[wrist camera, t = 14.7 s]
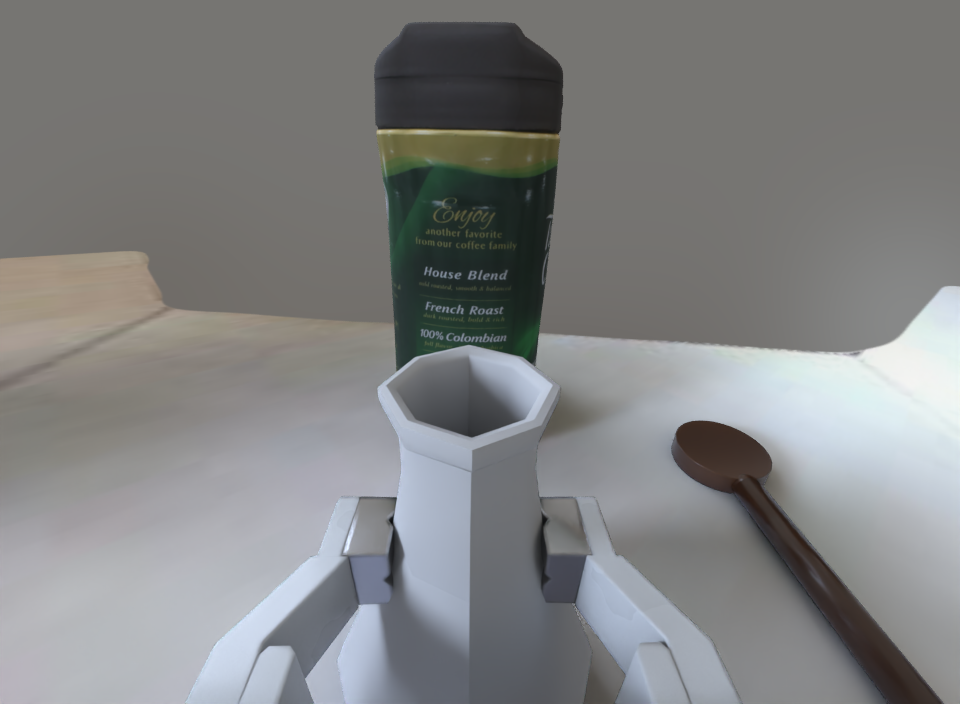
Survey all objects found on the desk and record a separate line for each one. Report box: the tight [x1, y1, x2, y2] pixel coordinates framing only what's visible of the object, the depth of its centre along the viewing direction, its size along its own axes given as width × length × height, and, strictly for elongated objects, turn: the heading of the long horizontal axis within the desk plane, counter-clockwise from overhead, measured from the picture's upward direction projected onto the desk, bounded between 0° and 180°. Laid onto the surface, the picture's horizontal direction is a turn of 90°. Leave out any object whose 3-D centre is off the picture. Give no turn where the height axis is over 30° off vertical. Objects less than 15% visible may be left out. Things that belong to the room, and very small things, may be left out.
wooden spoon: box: [671, 421, 944, 704], centre depth 16 cm, size 14×4×1 cm, turn 1°
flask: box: [337, 345, 592, 704], centre depth 10 cm, size 7×7×10 cm
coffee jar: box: [374, 22, 563, 372], centre depth 21 cm, size 10×8×19 cm
